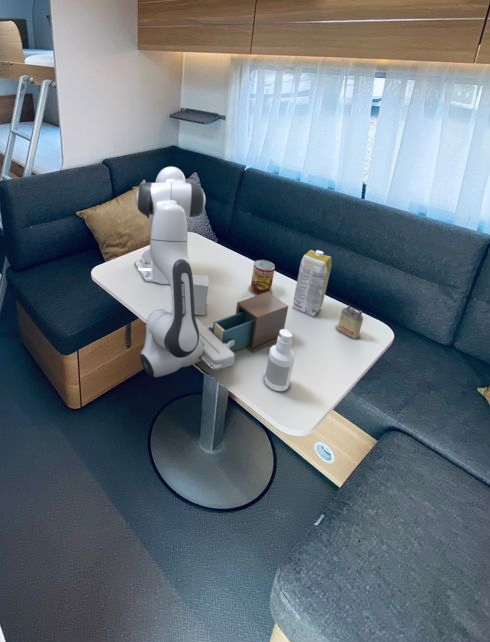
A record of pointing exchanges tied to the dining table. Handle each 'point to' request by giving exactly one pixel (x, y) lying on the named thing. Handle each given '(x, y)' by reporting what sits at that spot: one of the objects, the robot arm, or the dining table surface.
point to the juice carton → (312, 282)
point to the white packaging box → (200, 293)
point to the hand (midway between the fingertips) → (225, 334)
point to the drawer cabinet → (264, 318)
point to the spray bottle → (280, 362)
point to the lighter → (350, 322)
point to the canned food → (262, 277)
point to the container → (234, 329)
